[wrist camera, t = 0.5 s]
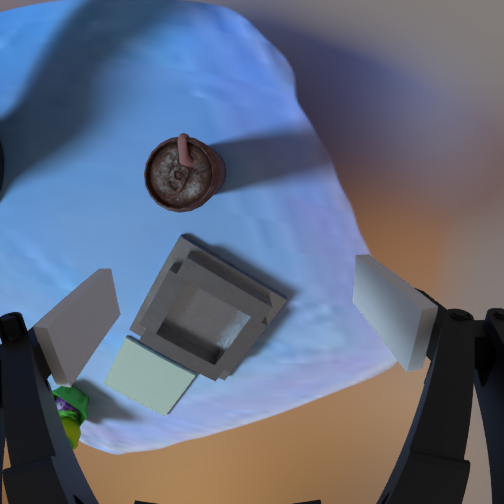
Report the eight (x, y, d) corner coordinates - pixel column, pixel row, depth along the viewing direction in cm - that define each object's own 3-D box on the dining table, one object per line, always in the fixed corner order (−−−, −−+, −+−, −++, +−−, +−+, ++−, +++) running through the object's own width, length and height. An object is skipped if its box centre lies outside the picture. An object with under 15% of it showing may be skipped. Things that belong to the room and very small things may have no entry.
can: (223, 143, 34) (214, 127, 21) (228, 194, 36) (221, 209, 23) (174, 148, 34) (137, 138, 21) (179, 199, 36) (145, 217, 23)
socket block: (131, 326, 40) (124, 338, 37) (181, 234, 37) (175, 240, 34) (224, 376, 43) (224, 390, 40) (286, 297, 40) (290, 308, 37)
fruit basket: (63, 373, 43) (36, 412, 32) (102, 402, 45) (81, 444, 34) (50, 400, 45) (27, 435, 34) (84, 425, 47) (66, 463, 36)
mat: (104, 381, 43) (103, 383, 43) (126, 335, 41) (125, 337, 40) (165, 414, 45) (165, 416, 45) (195, 373, 43) (195, 375, 42)
